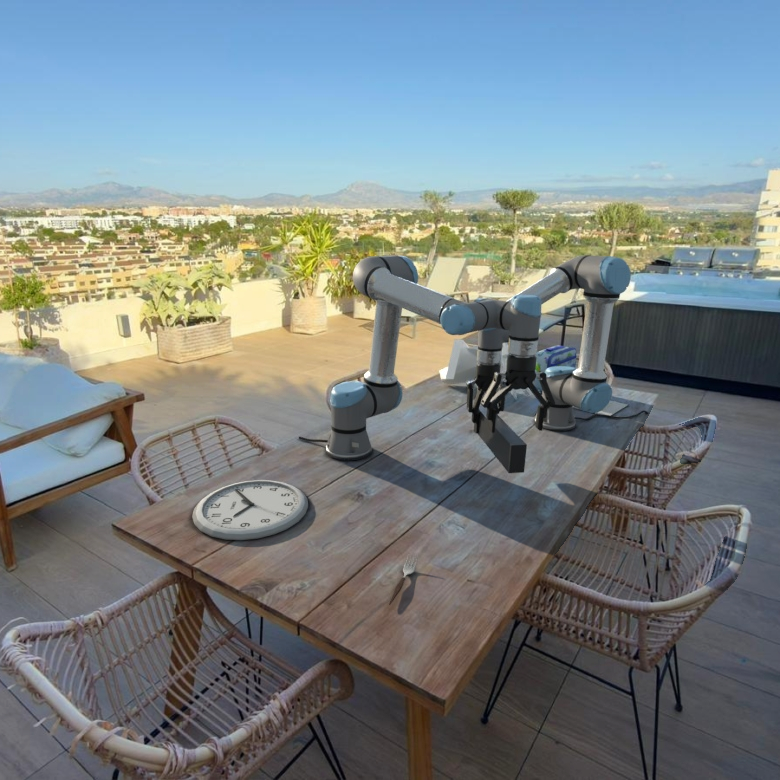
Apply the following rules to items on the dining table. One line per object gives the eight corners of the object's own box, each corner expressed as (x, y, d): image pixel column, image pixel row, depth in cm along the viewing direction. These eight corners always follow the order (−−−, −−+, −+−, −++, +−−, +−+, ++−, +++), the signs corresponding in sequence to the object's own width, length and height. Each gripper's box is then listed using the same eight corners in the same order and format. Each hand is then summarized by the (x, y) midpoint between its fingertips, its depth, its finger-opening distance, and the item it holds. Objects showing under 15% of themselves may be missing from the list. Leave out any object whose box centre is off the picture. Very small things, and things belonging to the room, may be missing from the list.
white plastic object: (461, 429, 252) (437, 405, 227) (444, 352, 274) (420, 323, 250) (535, 404, 240) (518, 377, 215) (510, 326, 262) (492, 293, 237)
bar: (473, 429, 175) (475, 405, 172) (486, 428, 175) (488, 405, 173) (508, 473, 144) (511, 445, 141) (524, 472, 144) (526, 444, 142)
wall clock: (304, 532, 127) (176, 536, 124) (304, 538, 127) (177, 542, 125) (311, 475, 155) (207, 478, 153) (311, 480, 156) (208, 483, 153)
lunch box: (548, 398, 236) (553, 353, 229) (527, 393, 243) (531, 349, 237) (575, 387, 253) (581, 344, 247) (555, 382, 260) (560, 341, 254)
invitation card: (608, 416, 214) (573, 407, 224) (608, 416, 214) (573, 408, 224) (628, 404, 229) (594, 396, 238) (628, 405, 229) (594, 397, 238)
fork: (383, 605, 105) (383, 597, 105) (407, 560, 120) (408, 552, 119) (395, 608, 104) (395, 600, 104) (418, 562, 119) (419, 555, 118)
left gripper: (480, 359, 132) (475, 436, 139) (573, 357, 136) (564, 433, 142) (472, 352, 139) (467, 426, 146) (560, 350, 143) (552, 423, 149)
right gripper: (465, 366, 160) (460, 436, 167) (519, 364, 162) (513, 434, 169) (458, 360, 167) (454, 428, 174) (511, 359, 169) (505, 426, 176)
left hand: (515, 430), depth 144 cm, fingers open, 13 cm apart
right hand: (483, 431), depth 171 cm, fingers closed on bar, 4 cm apart
